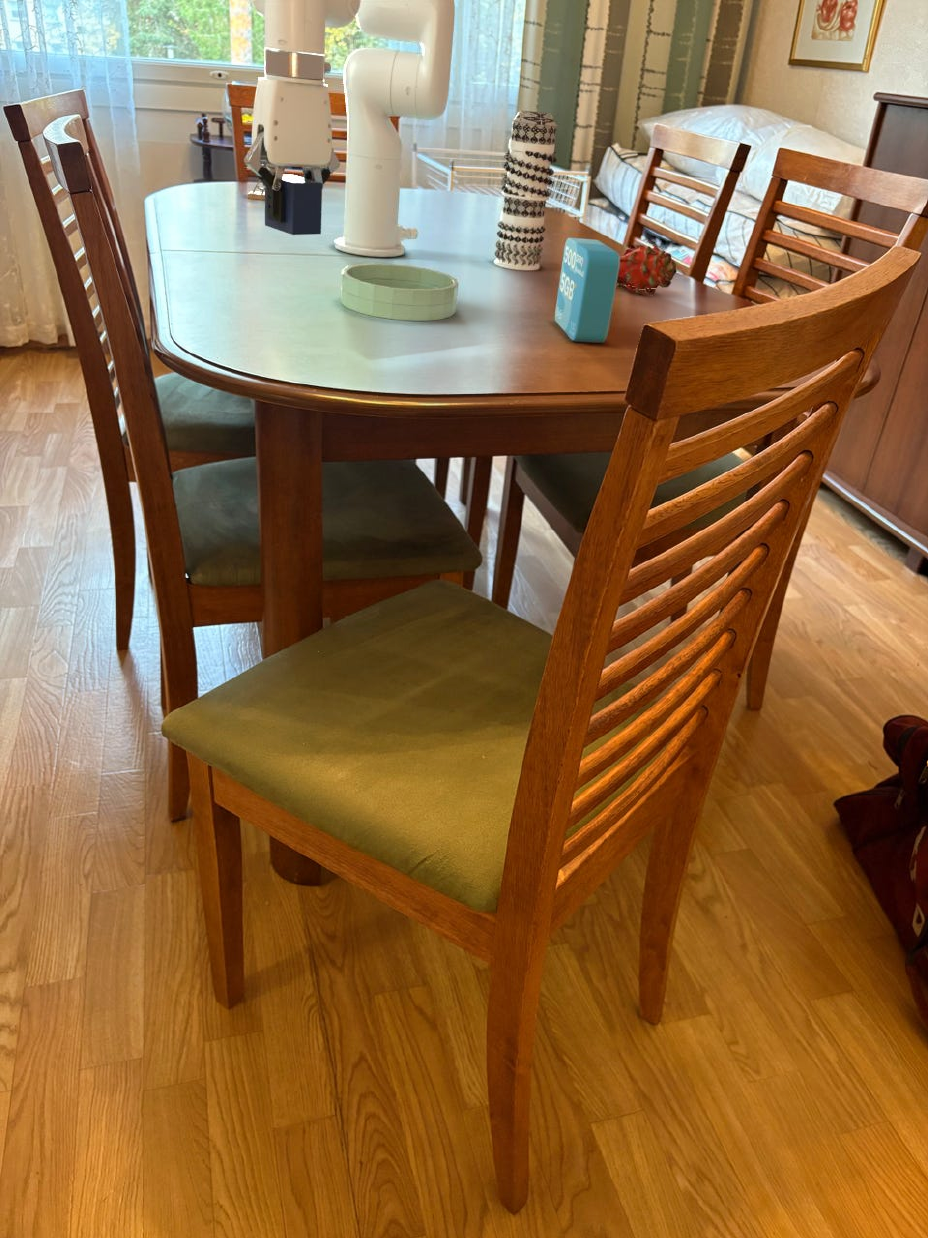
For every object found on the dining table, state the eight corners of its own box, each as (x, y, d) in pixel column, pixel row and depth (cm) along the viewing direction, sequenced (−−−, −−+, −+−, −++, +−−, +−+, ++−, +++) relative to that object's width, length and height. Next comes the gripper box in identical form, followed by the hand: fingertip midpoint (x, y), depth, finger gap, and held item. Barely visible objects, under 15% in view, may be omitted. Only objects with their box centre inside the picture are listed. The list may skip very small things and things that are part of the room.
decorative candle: (548, 266, 178) (570, 115, 165) (530, 273, 171) (551, 115, 158) (503, 257, 181) (521, 108, 168) (484, 263, 174) (501, 108, 161)
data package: (553, 321, 141) (565, 235, 135) (582, 323, 142) (596, 237, 136) (574, 344, 131) (589, 252, 125) (606, 346, 132) (622, 254, 126)
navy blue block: (292, 224, 136) (293, 174, 133) (321, 234, 132) (322, 182, 128) (264, 225, 133) (264, 174, 130) (292, 235, 129) (293, 182, 126)
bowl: (406, 291, 148) (408, 261, 146) (478, 317, 138) (481, 285, 136) (318, 298, 138) (319, 266, 136) (388, 328, 128) (390, 293, 126)
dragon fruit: (675, 306, 166) (605, 308, 168) (674, 269, 170) (605, 270, 171) (680, 270, 159) (607, 272, 160) (679, 232, 162) (607, 234, 163)
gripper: (332, 71, 130) (327, 215, 139) (220, 60, 120) (223, 216, 129) (365, 76, 125) (358, 224, 135) (252, 65, 115) (253, 227, 124)
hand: (292, 219), depth 132 cm, fingers closed on navy blue block, 4 cm apart
